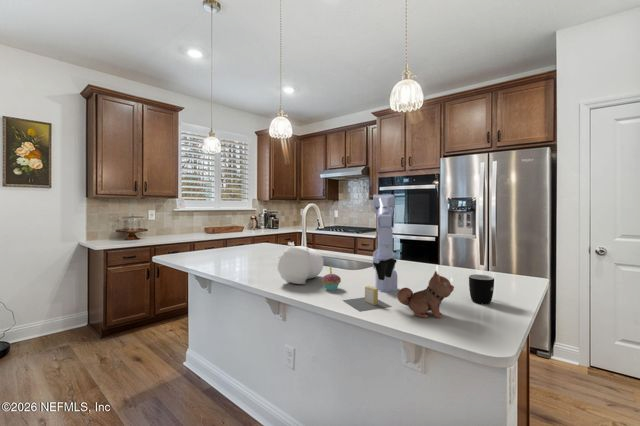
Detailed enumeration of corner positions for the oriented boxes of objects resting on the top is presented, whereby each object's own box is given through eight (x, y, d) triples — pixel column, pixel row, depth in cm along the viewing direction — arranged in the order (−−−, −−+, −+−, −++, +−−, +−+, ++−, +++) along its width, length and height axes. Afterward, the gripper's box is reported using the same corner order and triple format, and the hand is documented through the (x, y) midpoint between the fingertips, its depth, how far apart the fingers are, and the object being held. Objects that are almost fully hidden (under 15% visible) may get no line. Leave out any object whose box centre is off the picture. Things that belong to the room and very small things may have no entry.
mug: (493, 307, 119) (494, 280, 119) (467, 303, 123) (468, 278, 123) (493, 298, 130) (493, 274, 129) (469, 295, 134) (469, 272, 134)
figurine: (457, 320, 105) (457, 276, 105) (398, 317, 109) (398, 274, 108) (450, 310, 115) (450, 270, 115) (396, 307, 118) (396, 268, 118)
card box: (368, 300, 125) (368, 285, 125) (377, 304, 121) (377, 288, 121) (364, 301, 124) (364, 286, 124) (373, 305, 120) (374, 289, 120)
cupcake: (339, 292, 138) (339, 265, 137) (320, 291, 140) (320, 264, 139) (341, 287, 146) (341, 262, 146) (324, 286, 148) (324, 261, 148)
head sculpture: (296, 242, 178) (276, 239, 152) (330, 250, 172) (315, 247, 145) (288, 276, 176) (267, 278, 150) (322, 285, 170) (306, 289, 144)
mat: (372, 297, 131) (372, 296, 131) (392, 307, 118) (392, 306, 118) (342, 301, 126) (342, 300, 126) (359, 312, 113) (359, 311, 113)
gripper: (384, 241, 133) (384, 273, 133) (366, 245, 122) (366, 280, 122) (400, 243, 128) (400, 276, 129) (383, 247, 117) (382, 283, 118)
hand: (384, 278), depth 125 cm, fingers open, 5 cm apart
